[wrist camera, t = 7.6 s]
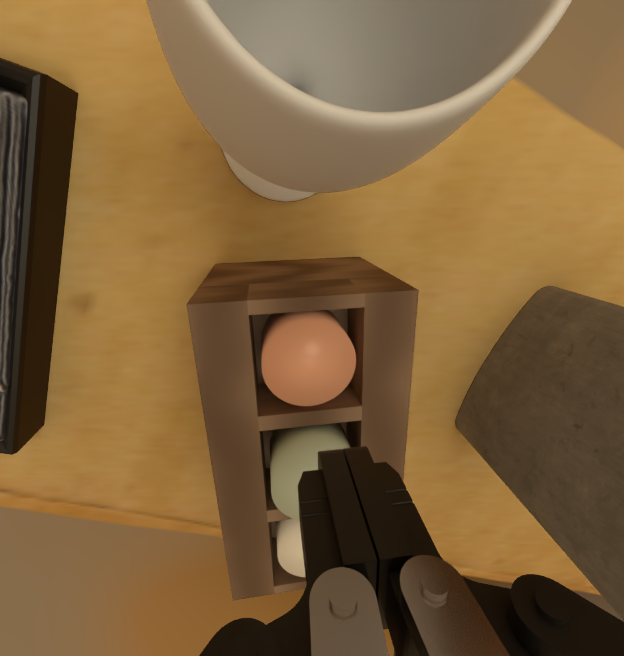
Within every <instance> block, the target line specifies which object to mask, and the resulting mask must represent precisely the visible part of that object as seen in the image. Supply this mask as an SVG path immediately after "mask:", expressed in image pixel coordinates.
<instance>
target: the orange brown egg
mask: <svg viewBox="0 0 624 656" xmlns="http://www.w3.org/2000/svg"><path fill="white" fill-rule="evenodd" d="M261 363H262V375H263V378H264V381H265V383H266V385H267V386H268V388H269V389H270V390H271V392H272V393H273V394H274V395H276V396H277V397H278V398H280V399H281V400H283V401H285V402H287V403H290V404H293V405H298V406H314V405H319V404H322V403H325V402H327V401H329V400H331V399H333V398H335V397H336V396H338V395H339V394H340V393H341V392H342V391H343V390H344V389H345V388H346V387H347V385H348V384H349V383H350V381H351V379H352V377H353V374H354V371H355V367H356V354H355V349H354V346H353V344H352V342H351V340H350V338H349V337H348V335H347V334H346V332H345V331H344V329H343V328H342V326H341V325H340V323H339V322H338V320H337V318H336V317H335V316H334V314H333V313H332V312H331V311H330V310H317V311H303V312H288V313H273V314H271V315H270V317H269V318H268V319H267V321H266V323H265V325H264V327H263V331H262V336H261Z"/></svg>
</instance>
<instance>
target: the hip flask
mask: <svg viewBox="0 0 624 656" xmlns="http://www.w3.org/2000/svg"><path fill="white" fill-rule="evenodd" d="M456 427H457V429H458V430H459V431H460V432H461V433H462V434H463V436H464V437H465V438H466V439H467V440H468V441H469V442H470V444H471V445H472V446H473V447H474V448H475V449H476V451H477V452H478V453H479V454H480V455H481V456H482V457H483V459H484V460H485V461H486V462H487V463H488V464H489V466H490V467H491V468H492V469H493V470H494V471H495V472H496V474H497V475H498V476H499V477H500V478H501V479H502V481H503V482H504V483H505V484H506V485H507V486H508V487H509V489H510V490H511V491H512V492H513V493H514V494H515V496H516V497H517V498H518V499H519V500H520V501H521V502H522V504H523V505H524V506H525V507H526V508H527V509H528V511H529V512H530V513H531V514H532V515H533V516H534V517H535V519H536V520H537V521H538V522H539V523H540V524H541V526H542V527H543V528H544V529H545V530H546V531H547V532H548V534H549V535H550V536H551V537H552V538H553V539H554V541H555V542H556V543H557V544H558V545H559V546H560V547H561V549H562V550H563V551H564V552H565V553H566V554H567V556H568V557H569V558H570V559H571V560H572V561H573V562H574V564H575V565H576V566H577V567H578V568H579V569H580V571H581V572H582V573H583V574H584V575H585V576H586V577H587V579H588V580H589V581H590V582H591V583H592V584H593V586H594V587H595V588H596V589H597V590H598V591H599V592H600V594H601V595H602V596H603V597H604V598H605V599H606V601H607V602H608V603H609V604H610V605H611V606H612V607H613V609H614V610H615V611H616V612H617V613H618V614H619V615H620V617H621V618H622V619H623V620H624V307H622V306H619V305H615V304H612V303H609V302H605V301H602V300H598V299H595V298H591V297H588V296H584V295H581V294H578V293H574V292H571V291H567V290H564V289H560V288H557V287H553V286H547V287H544V288H542V289H540V290H539V291H537V292H536V293H535V294H534V296H533V297H532V298H531V299H530V300H529V301H528V302H527V304H526V305H525V306H524V307H523V308H522V310H521V311H520V312H519V313H518V314H517V316H516V317H515V318H514V320H513V321H512V322H511V323H510V325H509V326H508V328H507V329H506V330H505V332H504V333H503V334H502V336H501V337H500V339H499V340H498V342H497V343H496V345H495V346H494V348H493V349H492V351H491V352H490V354H489V355H488V357H487V359H486V360H485V362H484V363H483V365H482V367H481V368H480V370H479V372H478V374H477V375H476V377H475V379H474V381H473V383H472V385H471V387H470V388H469V391H468V393H467V395H466V397H465V399H464V401H463V403H462V405H461V408H460V410H459V413H458V415H457V418H456Z"/></svg>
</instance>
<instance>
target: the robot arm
mask: <svg viewBox="0 0 624 656" xmlns="http://www.w3.org/2000/svg"><path fill="white" fill-rule="evenodd" d="M298 501H299V519H300V531H301V540H302V549H303V558H304V568H305V577H306V589H305V591H304V594H303V596H302V597H301V599H300V601H299V602H298V603H297V604H296V606H295V607H294V608H293V609H291V610H290V611H289V612H287V613H286V614H284V615H283V616H281V617H279V618H278V619H276V620H274V621H272V622H271V623H269V624H268V625H265V624H264V623H262V622H261V621H259V620H256V619H253V618H242V619H238V620H234V621H232V622H230V623H228V624H227V625H225V626H224V627H222V628H221V629H220V630H219V631H218V632H217V633H216V634H215V635H214V637H213V638H212V639H211V640H210V642H209V643H208V644H207V646H206V647H205V649H204V650H203V652H202V653H201V654H200V656H389V654H388V649H387V645H386V640H385V635H384V631H383V629H389V632H390V636H391V639H392V643H393V646H394V656H624V622H623V621H621V620H620V619H617V618H616V617H615V616H613V615H611V614H610V613H608V612H606V611H604V610H603V609H601V608H599V607H598V606H596V605H595V604H593V603H591V602H589V601H588V600H586V599H585V598H583V597H581V596H579V595H578V594H576V593H575V592H573V591H571V590H570V589H568V588H566V587H565V586H563V585H561V584H560V583H558V582H556V581H554V580H552V579H550V578H547V577H544V576H541V575H535V574H527V575H522V576H520V577H518V578H517V579H516V580H515V581H514V583H513V584H512V588H511V589H509V588H503V587H498V586H493V585H488V584H483V583H478V582H475V581H471V580H469V579H467V578H465V577H463V576H461V575H460V573H459V572H458V571H457V570H456V569H455V568H454V567H453V566H452V565H450V564H449V563H447V562H446V561H444V560H443V559H442V558H441V556H440V555H439V553H438V551H437V549H436V547H435V545H434V543H433V541H432V539H431V537H430V535H429V533H428V531H427V529H426V527H425V525H424V523H423V521H422V519H421V517H420V515H419V513H418V511H417V509H416V507H415V505H414V504H413V502H412V499H411V497H410V495H409V493H408V491H407V490H406V487H405V485H404V483H403V481H402V479H401V477H400V475H399V473H398V472H397V471H396V470H395V469H394V468H392V467H391V466H390V465H389V464H388V463H387V462H379V463H374V461H373V459H372V457H371V454H370V452H369V450H368V448H367V446H362V447H353V448H344V449H336V450H327V451H318V470H311V471H303V473H302V476H301V478H300V481H299V484H298Z"/></svg>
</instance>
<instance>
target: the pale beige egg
mask: <svg viewBox="0 0 624 656" xmlns="http://www.w3.org/2000/svg"><path fill="white" fill-rule="evenodd" d="M276 535H277V555H278V561H279V563H280V565H281V566H282V567H283V569H284V570H286V571H287V572H289V573H290V574H293V575H295V576H299V577H305V568H304V558H303V549H302V540H301V531H300V520H296V519H288V520H281V521H276Z"/></svg>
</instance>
